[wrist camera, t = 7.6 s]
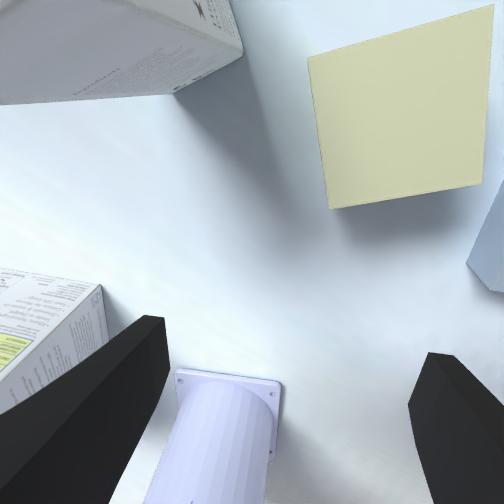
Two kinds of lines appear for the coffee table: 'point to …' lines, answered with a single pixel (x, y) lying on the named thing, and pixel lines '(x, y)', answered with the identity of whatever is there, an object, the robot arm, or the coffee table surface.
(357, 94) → the olive cube
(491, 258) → the base slab
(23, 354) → the light bulb box
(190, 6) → the skincare box
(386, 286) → the coffee table surface
